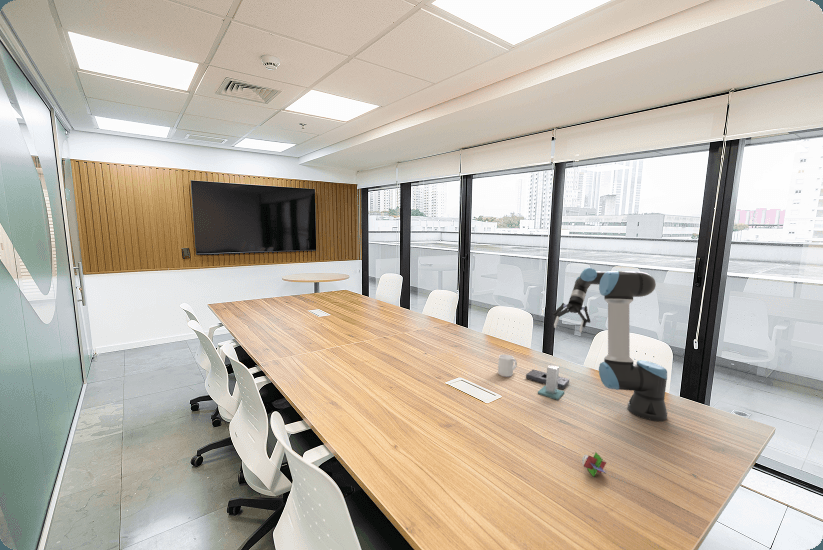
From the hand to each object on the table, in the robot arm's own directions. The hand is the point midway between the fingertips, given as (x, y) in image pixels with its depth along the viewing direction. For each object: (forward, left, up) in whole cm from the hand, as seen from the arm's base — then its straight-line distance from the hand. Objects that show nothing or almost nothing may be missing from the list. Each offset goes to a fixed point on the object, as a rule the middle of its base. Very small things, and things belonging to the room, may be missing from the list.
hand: (567, 329), depth 198 cm
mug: (+12, +29, -28) cm, 42 cm away
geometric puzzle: (-69, +52, -28) cm, 90 cm away
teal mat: (-16, +23, -28) cm, 39 cm away
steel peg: (-16, +23, -27) cm, 38 cm away
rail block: (-3, +14, -28) cm, 31 cm away
